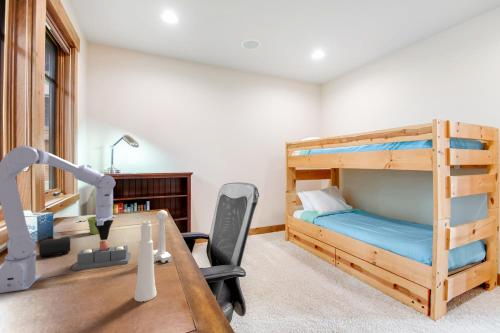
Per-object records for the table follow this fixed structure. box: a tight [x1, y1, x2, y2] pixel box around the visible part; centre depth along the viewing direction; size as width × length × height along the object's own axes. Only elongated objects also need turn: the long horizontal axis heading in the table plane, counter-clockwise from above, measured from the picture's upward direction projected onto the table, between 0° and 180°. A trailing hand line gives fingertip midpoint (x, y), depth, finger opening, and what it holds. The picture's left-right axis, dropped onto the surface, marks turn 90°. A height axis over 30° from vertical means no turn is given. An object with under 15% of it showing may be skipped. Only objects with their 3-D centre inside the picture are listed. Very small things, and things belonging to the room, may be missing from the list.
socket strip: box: [72, 245, 132, 271], centre depth 94 cm, size 9×18×5 cm, turn 111°
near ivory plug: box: [83, 248, 92, 253], centre depth 92 cm, size 3×3×5 cm
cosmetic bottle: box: [133, 220, 157, 302], centre depth 70 cm, size 6×6×22 cm
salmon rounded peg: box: [99, 239, 109, 252], centre depth 94 cm, size 3×3×5 cm
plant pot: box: [86, 215, 99, 235], centre depth 134 cm, size 9×9×9 cm
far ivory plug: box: [115, 245, 124, 250], centre depth 96 cm, size 3×3×5 cm
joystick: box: [153, 209, 172, 264], centre depth 97 cm, size 11×8×20 cm
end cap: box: [38, 236, 71, 258], centre depth 101 cm, size 10×7×7 cm
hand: (104, 239), depth 94 cm, fingers closed
